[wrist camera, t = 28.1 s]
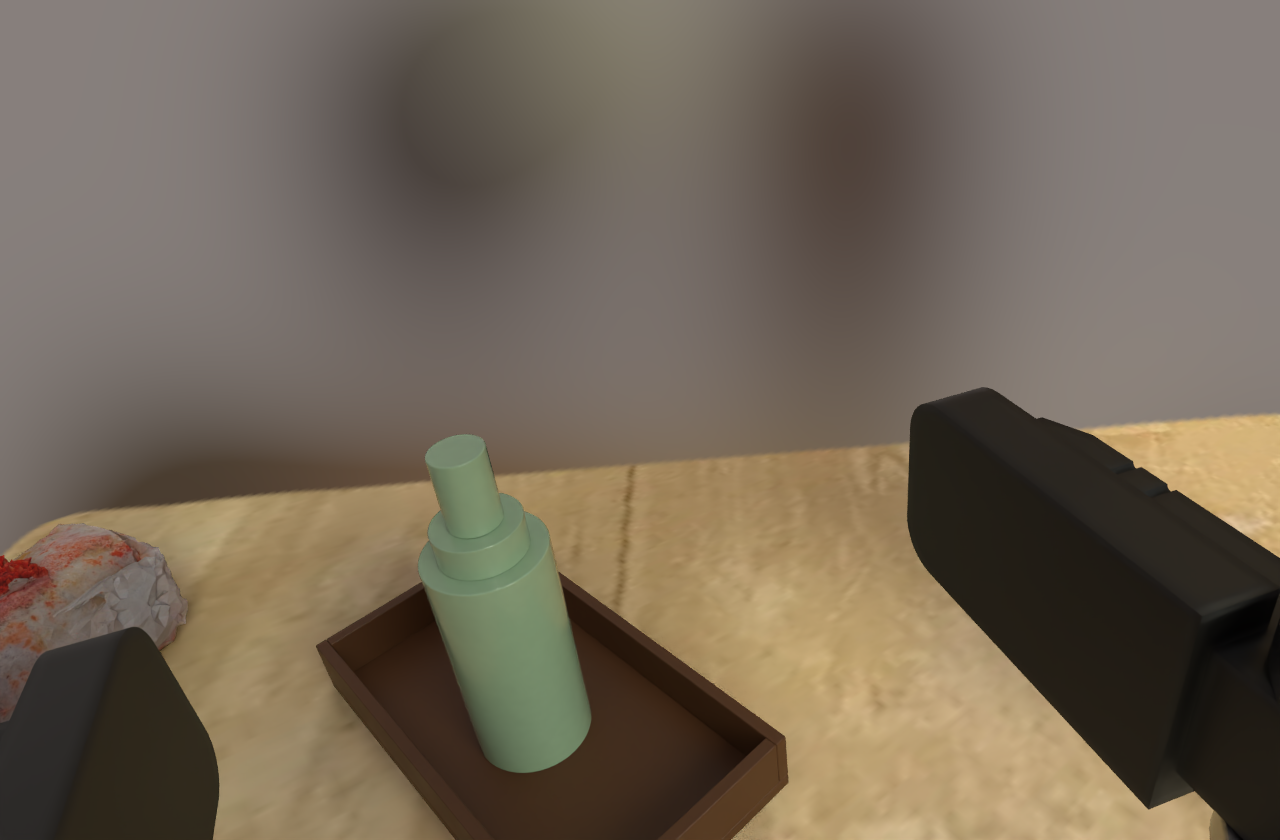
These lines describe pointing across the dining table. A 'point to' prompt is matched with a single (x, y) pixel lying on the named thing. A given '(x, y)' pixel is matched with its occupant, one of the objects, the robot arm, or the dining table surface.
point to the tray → (598, 769)
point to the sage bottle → (501, 614)
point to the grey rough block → (80, 598)
